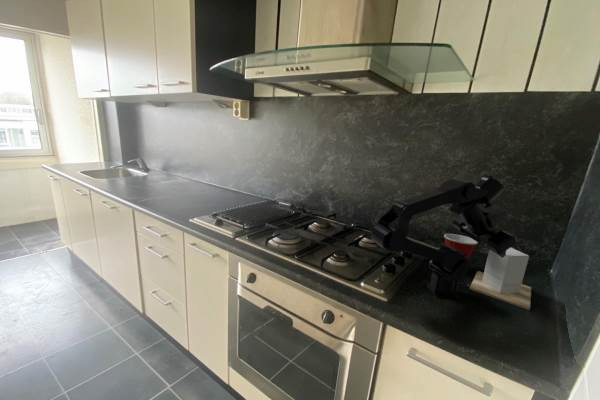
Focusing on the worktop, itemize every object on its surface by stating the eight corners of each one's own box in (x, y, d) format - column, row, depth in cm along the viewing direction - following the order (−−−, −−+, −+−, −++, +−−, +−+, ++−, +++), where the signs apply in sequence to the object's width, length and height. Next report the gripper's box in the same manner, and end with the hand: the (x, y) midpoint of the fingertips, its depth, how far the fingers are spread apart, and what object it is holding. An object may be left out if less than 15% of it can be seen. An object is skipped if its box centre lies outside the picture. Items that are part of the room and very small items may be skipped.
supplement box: (520, 293, 85) (530, 255, 82) (499, 293, 84) (509, 256, 81) (500, 280, 92) (509, 245, 89) (480, 281, 91) (489, 246, 88)
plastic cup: (470, 265, 104) (476, 236, 101) (472, 278, 94) (480, 245, 92) (438, 258, 109) (444, 229, 106) (438, 269, 99) (444, 238, 96)
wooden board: (529, 310, 78) (530, 307, 78) (469, 288, 87) (469, 286, 87) (530, 289, 89) (531, 287, 89) (477, 272, 98) (477, 270, 98)
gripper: (525, 208, 70) (542, 248, 76) (471, 187, 88) (488, 221, 93) (489, 234, 71) (508, 271, 77) (443, 209, 89) (461, 240, 94)
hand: (491, 248), depth 85 cm, fingers open, 9 cm apart
